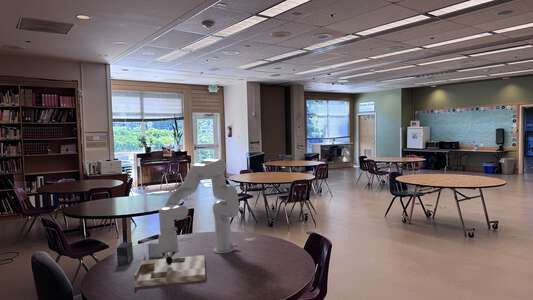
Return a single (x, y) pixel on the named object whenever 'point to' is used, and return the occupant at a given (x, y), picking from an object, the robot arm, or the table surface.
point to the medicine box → (153, 249)
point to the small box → (124, 253)
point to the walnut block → (147, 265)
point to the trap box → (172, 271)
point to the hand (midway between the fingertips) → (169, 264)
